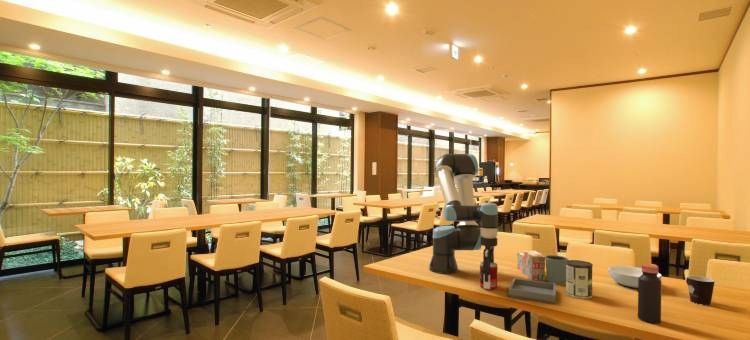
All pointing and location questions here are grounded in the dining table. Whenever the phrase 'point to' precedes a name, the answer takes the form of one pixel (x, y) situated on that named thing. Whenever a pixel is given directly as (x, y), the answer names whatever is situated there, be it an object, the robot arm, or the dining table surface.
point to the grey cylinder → (556, 269)
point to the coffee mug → (700, 289)
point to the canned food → (492, 276)
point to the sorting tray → (533, 290)
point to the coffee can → (579, 279)
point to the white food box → (532, 264)
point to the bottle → (649, 294)
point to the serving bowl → (627, 275)
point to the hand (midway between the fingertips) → (488, 285)
